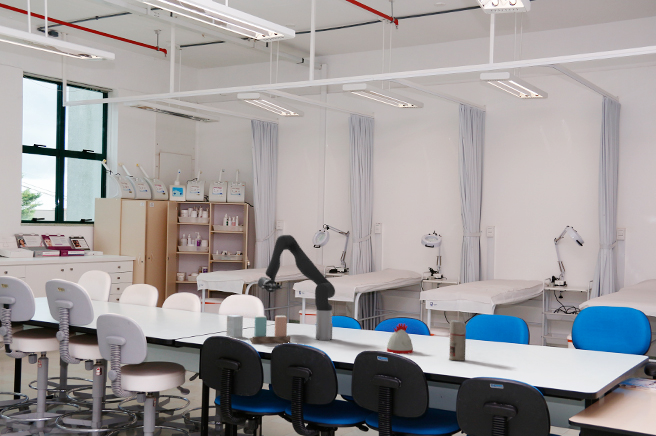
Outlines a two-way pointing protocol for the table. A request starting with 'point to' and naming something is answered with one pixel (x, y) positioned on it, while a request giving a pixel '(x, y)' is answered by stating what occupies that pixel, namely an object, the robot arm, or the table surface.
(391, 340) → the grey and red dome
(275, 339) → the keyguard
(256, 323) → the teal rectangular block
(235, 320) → the small box
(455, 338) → the spray can
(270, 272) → the robot arm
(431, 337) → the table surface
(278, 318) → the salmon pink rectangular block
